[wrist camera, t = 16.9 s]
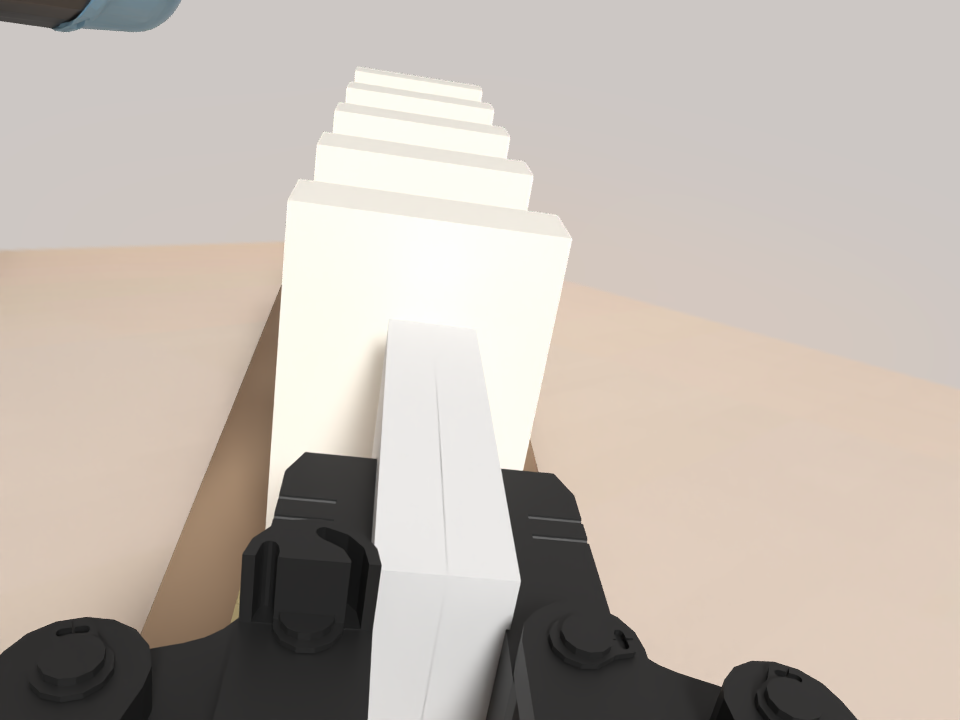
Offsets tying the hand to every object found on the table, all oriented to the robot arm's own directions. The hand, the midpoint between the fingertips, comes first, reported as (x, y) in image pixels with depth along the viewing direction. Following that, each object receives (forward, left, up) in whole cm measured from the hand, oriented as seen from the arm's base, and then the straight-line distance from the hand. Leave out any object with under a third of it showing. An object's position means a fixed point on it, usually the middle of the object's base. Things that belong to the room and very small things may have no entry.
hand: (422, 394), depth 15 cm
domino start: (0, +2, -7) cm, 7 cm away
